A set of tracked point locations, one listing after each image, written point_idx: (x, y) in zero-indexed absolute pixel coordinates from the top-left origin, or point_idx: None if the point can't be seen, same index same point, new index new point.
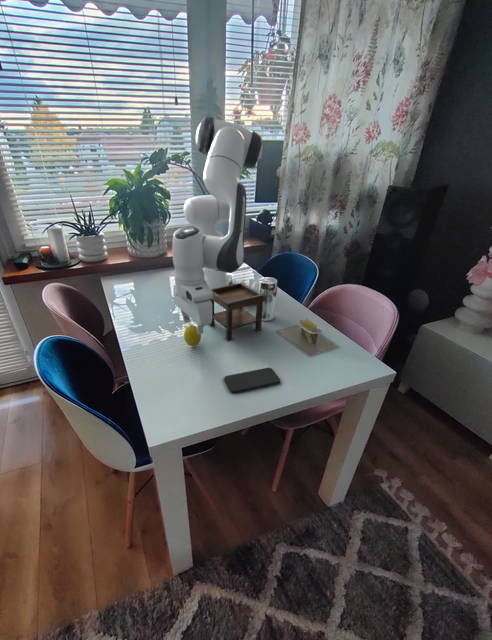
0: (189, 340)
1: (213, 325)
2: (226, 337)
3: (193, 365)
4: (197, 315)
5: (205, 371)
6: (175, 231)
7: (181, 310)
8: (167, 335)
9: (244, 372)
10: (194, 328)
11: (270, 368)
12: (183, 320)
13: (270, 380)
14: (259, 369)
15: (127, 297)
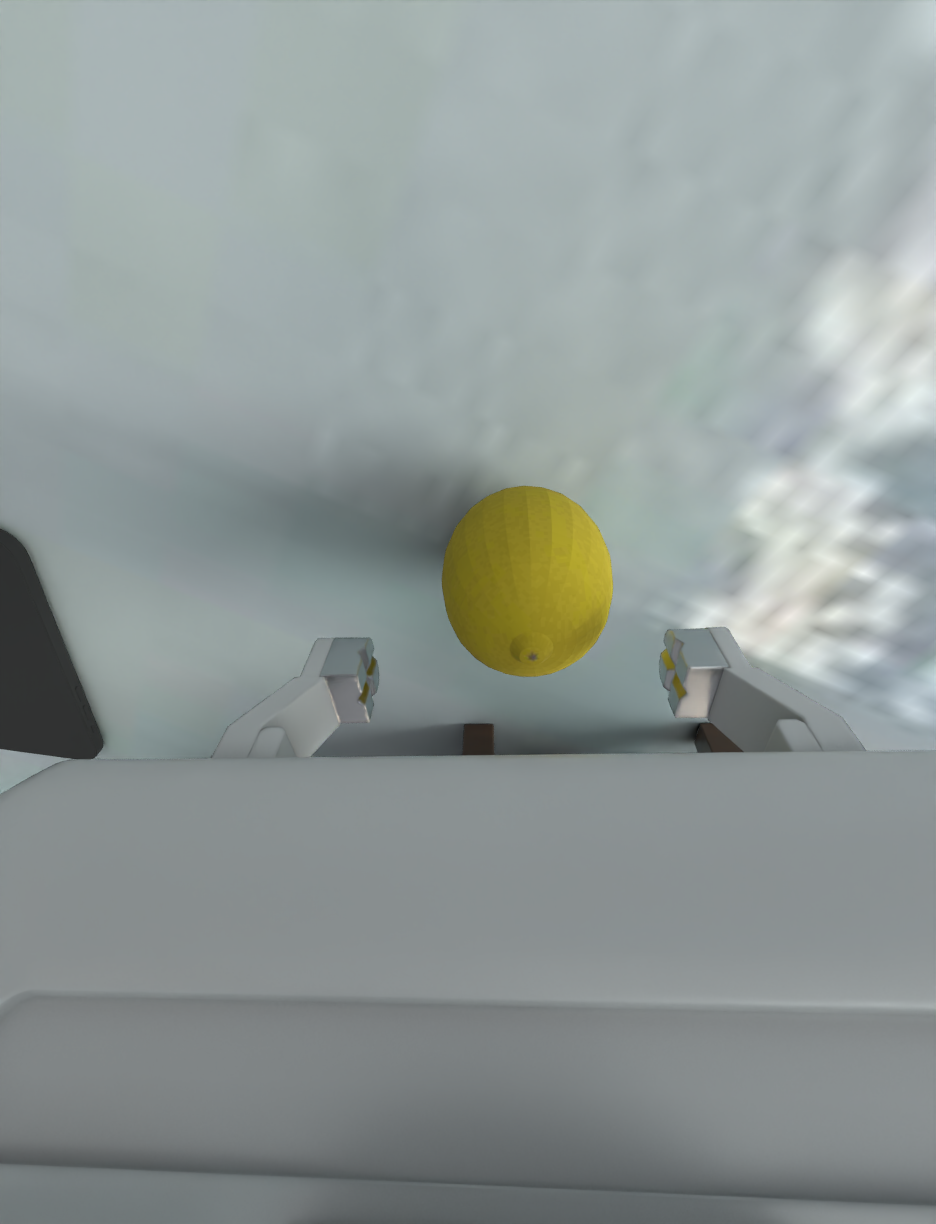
0: (464, 521)
1: (696, 737)
2: (485, 735)
3: (232, 405)
4: (22, 915)
5: (128, 457)
6: None
7: (814, 730)
8: (875, 382)
9: (52, 655)
10: (488, 650)
11: (87, 756)
12: (722, 629)
13: None
14: (80, 720)
15: None
